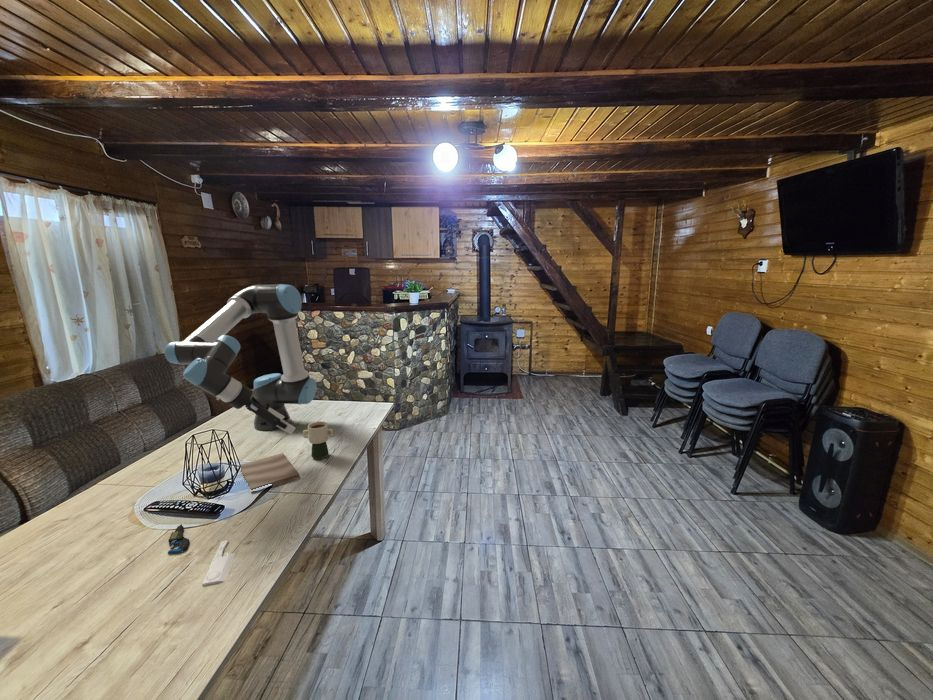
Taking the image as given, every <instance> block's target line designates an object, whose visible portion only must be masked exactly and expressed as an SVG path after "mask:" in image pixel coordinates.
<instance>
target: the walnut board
mask: <svg viewBox="0 0 933 700" xmlns="http://www.w3.org/2000/svg"><path fill="white" fill-rule="evenodd" d="M240 465H241V471H240V473H241V472H242V473H241V475H242V474H243V475H242V477H243V476H244V477H243V479H244V478H245V479H244V481H245V480H246V481H245V483H246V482H247V483H248V486H249V487H250V489H251V490H253V489H256V488H259V487H262V486H265V485H268V484H272V485H275V486H278V485H281V484H284V483H287V482H290V481H294V480H296V479H299V478H300V473H299V472H298V470H297V469H296V468H295V466H294V465H293V464H292V462H291V461H290V459H288V457H287V455H285V453H284V452H281V453H277V454H274V455H270V456H267V457H265V458H260V459H257V460H253V461H249V462H244V463H242V464H240ZM247 483H246V484H247ZM248 486H247V487H248Z"/></svg>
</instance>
